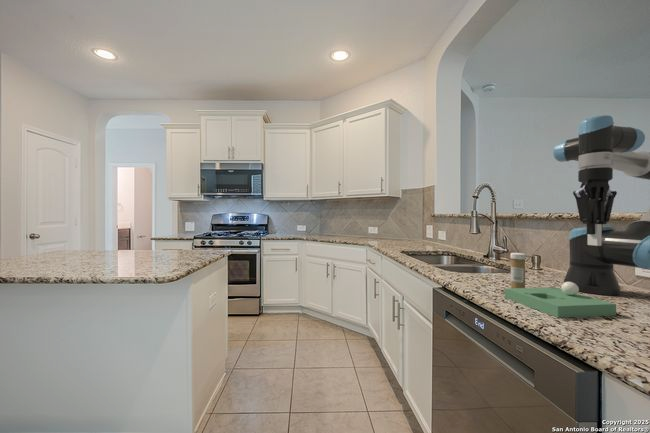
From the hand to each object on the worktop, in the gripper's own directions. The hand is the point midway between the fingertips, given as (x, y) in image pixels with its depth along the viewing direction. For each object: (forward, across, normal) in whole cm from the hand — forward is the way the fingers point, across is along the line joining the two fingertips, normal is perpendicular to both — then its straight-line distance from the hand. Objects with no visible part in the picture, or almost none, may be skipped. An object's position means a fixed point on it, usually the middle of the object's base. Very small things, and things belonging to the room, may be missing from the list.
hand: (594, 245), depth 84 cm
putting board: (+18, -13, 0) cm, 23 cm away
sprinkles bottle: (+18, -10, +17) cm, 27 cm away
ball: (+13, -8, 0) cm, 16 cm away
